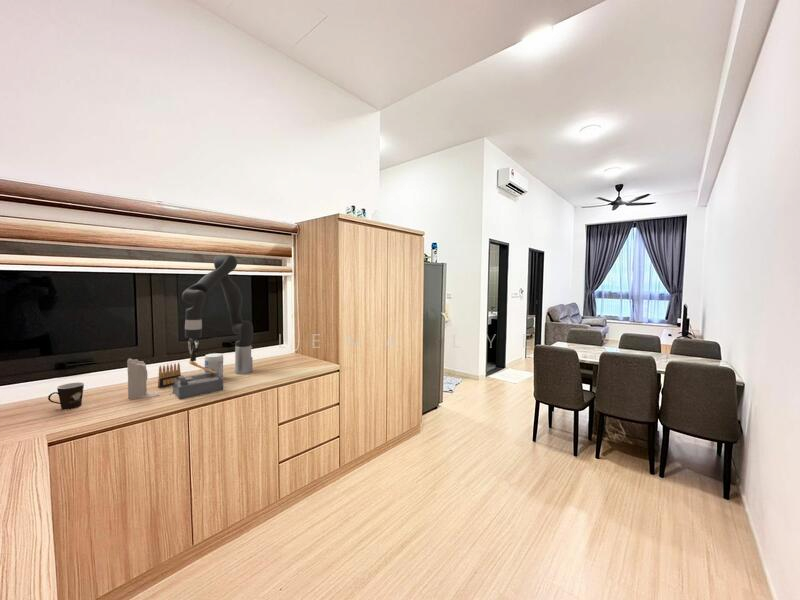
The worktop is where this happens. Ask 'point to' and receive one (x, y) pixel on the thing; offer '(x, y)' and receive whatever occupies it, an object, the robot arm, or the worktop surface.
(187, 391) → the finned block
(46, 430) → the worktop surface
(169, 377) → the ammunition clip
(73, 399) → the coffee mug
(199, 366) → the retention lever
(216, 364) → the supplement tub
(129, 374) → the grey upright block
